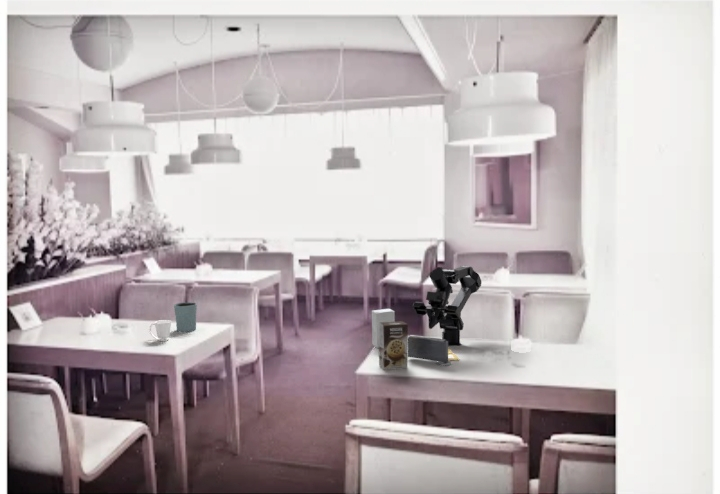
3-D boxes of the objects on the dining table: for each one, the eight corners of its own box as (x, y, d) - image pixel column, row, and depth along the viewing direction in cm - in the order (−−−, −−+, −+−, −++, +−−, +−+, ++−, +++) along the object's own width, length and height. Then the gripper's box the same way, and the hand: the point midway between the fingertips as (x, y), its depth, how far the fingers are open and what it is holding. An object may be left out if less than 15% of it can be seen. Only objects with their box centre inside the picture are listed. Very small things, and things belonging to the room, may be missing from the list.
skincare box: (390, 343, 263) (389, 308, 262) (395, 346, 257) (395, 310, 256) (371, 345, 260) (371, 309, 259) (376, 348, 255) (376, 312, 253)
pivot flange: (449, 362, 234) (449, 360, 234) (452, 365, 229) (452, 364, 229) (436, 362, 234) (436, 360, 234) (438, 366, 229) (438, 364, 229)
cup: (166, 342, 267) (165, 323, 267) (145, 341, 270) (144, 322, 269) (175, 338, 274) (174, 320, 274) (154, 337, 277) (154, 319, 276)
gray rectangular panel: (448, 361, 232) (448, 339, 231) (445, 362, 230) (445, 340, 229) (410, 355, 240) (410, 334, 239) (407, 356, 238) (407, 335, 237)
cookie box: (384, 370, 224) (383, 325, 223) (378, 365, 230) (378, 321, 229) (408, 368, 226) (408, 323, 225) (402, 363, 233) (402, 320, 231)
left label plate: (454, 354, 244) (454, 353, 244) (459, 360, 236) (459, 359, 236) (439, 355, 244) (439, 354, 243) (443, 360, 236) (443, 359, 236)
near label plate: (448, 349, 253) (448, 347, 253) (452, 354, 245) (452, 353, 245) (433, 349, 252) (433, 348, 252) (437, 354, 244) (437, 353, 244)
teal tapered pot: (181, 333, 284) (180, 306, 283) (171, 329, 292) (170, 304, 291) (201, 329, 291) (200, 304, 290) (191, 326, 298) (190, 301, 297)
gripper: (414, 281, 251) (401, 313, 243) (458, 285, 241) (446, 318, 233) (423, 298, 258) (410, 330, 250) (465, 302, 249) (454, 335, 240)
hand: (429, 328), depth 243 cm, fingers closed
